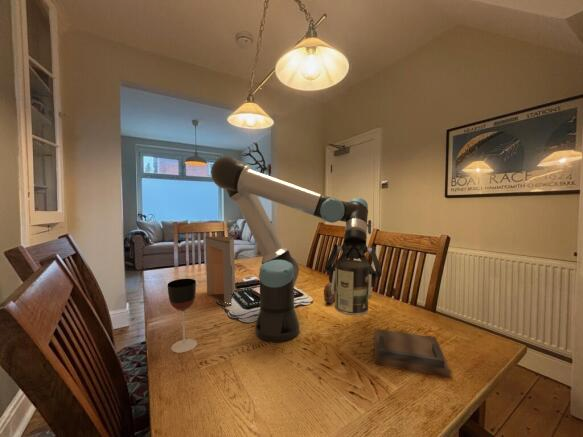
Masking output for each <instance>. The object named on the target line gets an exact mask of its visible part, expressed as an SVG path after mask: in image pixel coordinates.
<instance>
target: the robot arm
mask: <svg viewBox="0 0 583 437" xmlns="http://www.w3.org/2000/svg"><path fill="white" fill-rule="evenodd" d="M210 175H211V176H210V177H211V179H212V181H213V183H214V184H215V185H216V186H217V187H219V188H221V189H223V190H226V192H227V194H228V196H229V199H230V200H232V201H234V202H236V204H237V206H238V208H239V210H240V212H241V214H242V216H243V218H244V220H245V223H246V224H247V226H248V229H249V231H250V233H251V235H252V236H253V239H254V242H255V243H256V245H257V247H258V249H259V252H260V253H261V256H262V257H261V266H260V267H259V273H258V279H259V312H258V316H257V318H256V322H255V324H254V325H255V330H254V331H255V335H256V337H257V338H259V339H260V340H263V341H266V342H270V343H281V342H287V341H291V340H292V339H293V338H295V337H297V336H298V335H299V333H300V322H299V318H298V315H297V312H296V310H295V284H296V282H297V279H298V276H299V273H300V272H299V271H300V269H299V264H298V262H297V261H296V259H295V258H294V257H293V256H292V255H291V253H290V250H289V249H288V248H286V247H283V245H282V243H281V241H280V239H279V237H278V234H277V233H276V231H275V228H274V226H273V225H272V223H271V220H270V218H269V216H268V214H267V212H266V210H265V208H264V205H263V204H262V201H261V200H260V198H259V197H261V198H262V199H266V200H269V201H272V202H275V203H277V204H280V205H282V206H286V207H288V208H291V209H294V210H297V211H300V212H303V213H305V214H308V215H311V216H314V217H316V218H319V219H321V220H324V221H325V222H327V223H331V224H334V223H337V222H339V221H340V222H344V223H345V229H344V234H343V235H344V237H343V243H342V245H337V244H336V243H335V244H333V250H332V252H331V254H330V255H329V258H328V260H327V261H326V264H325V265H324V270H325V272H326V273H329V277H328V281H329V282H330V283H332V286H331V293H332V294H334V292H335V262H337V261H341V260H359V261H363V262H366V263H368V264H369V265H370V266H369V286H368V299H371V300H372V288H375V287H376V278H381V277H382V273H383V271H382V267H381V265H380V262H379V259H378V256H377V247H376V246H372V247H368V245H367V239H368V236H367V234H368V216H369V206H368V205H369V204H368V202H367V201H366V200H365V199H363V198H362V197H356V198H355V197H353V198H350V199H349V201H343V200H340V199H337V198H334V197H331V196H329V195H325V194H321V193H319V192H317V191H313V190H310V189H307V188H304V187H302V186H299V185H296V184H293V183H290V182H288V181H284V180H281V179H278V178H276V177H273V176H271V175H268V174H265V173H261V172H258V171H256V170H253V169H252V167H251V166H250V165H249V164H247V163H246V162H244V161H241V160H238V159H237V158H235V157H232V156H223V157H220V158H217V159H216V160H215V161H214V163H213V164H212V166H211V169H210ZM341 251H342V253H341V255H340V257H339V258H338V259H337V260H336V258H337V257H338V253H340V252H341ZM366 253H368V254H369V255H370V256H371V259H372V262H373V266H372V265H371V263H370V261H369V260H368V258H367V256H366V255H365V254H366ZM335 260H336V261H335ZM373 267H374V268H373Z"/></svg>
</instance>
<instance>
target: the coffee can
mask: <svg viewBox="0 0 583 437" xmlns="http://www.w3.org/2000/svg"><path fill="white" fill-rule="evenodd" d="M336 261H337V260H336ZM336 261H334V264H335V302H334V309H335V311H337V312H338V313H340V314H342V315H348V316H364V315H366V314H367V313H368V312H369V298H368V286H369V266H370V265H369V264H368V263H366V262H363V261H361V260H358V259H347V260H341V261H337V262H336Z"/></svg>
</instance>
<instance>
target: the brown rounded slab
mask: <svg viewBox="0 0 583 437" xmlns="http://www.w3.org/2000/svg"><path fill="white" fill-rule="evenodd" d="M331 286H332V283H330V281H329V282H328V283H327V284H325V286H324V288H323V299H324V302H325V303H326V304H327V303H328V304H331V305H332V304H333V303H334V304H335V292H334V294H332V293H331Z"/></svg>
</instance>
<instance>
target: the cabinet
mask: <svg viewBox="0 0 583 437" xmlns="http://www.w3.org/2000/svg"><path fill="white" fill-rule="evenodd" d="M204 239H205V241H204V242H205V264H206V266H205V267H206V270H205V271H206V272H205V273H206V294H207V295H208V296H211V297H212V298H214V299H215V300H216V301H217V302H220V303H221V304H223V305H225V306H226V307H228V308H229V307H231V306H232V300H233V298H234V297H235V295H233V296H231V294H233V292H234V291H235V292H236V276H235V275H236V274H235V271H236V270H235V238H234V236H205V238H204ZM225 302H226V303H225ZM227 303H228V304H227ZM229 303H231V304H229Z"/></svg>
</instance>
